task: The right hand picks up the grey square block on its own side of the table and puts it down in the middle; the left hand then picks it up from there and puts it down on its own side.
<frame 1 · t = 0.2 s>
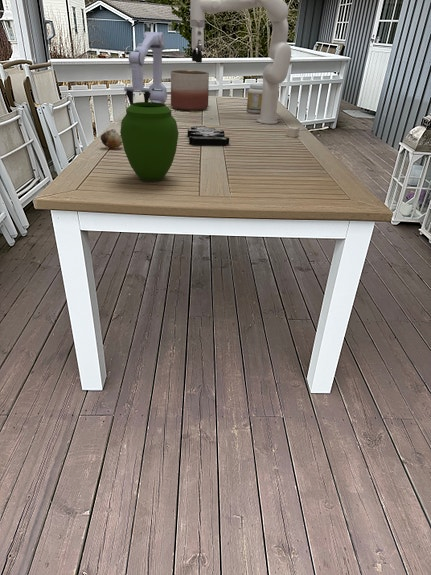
left hand: (139, 107, 218), 10 cm above the table, tool pointing down, fingers open, 7 cm apart
right hand: (196, 61, 223), 31 cm above the table, tool pointing down, fingers open, 9 cm apart
planter: (189, 108, 279), on the table
seashell: (112, 148, 180), on the table
grey square block: (292, 135, 219), on the table
vase: (151, 178, 146), on the table
sign: (206, 138, 204), on the table
supplement tub: (255, 112, 279), on the table
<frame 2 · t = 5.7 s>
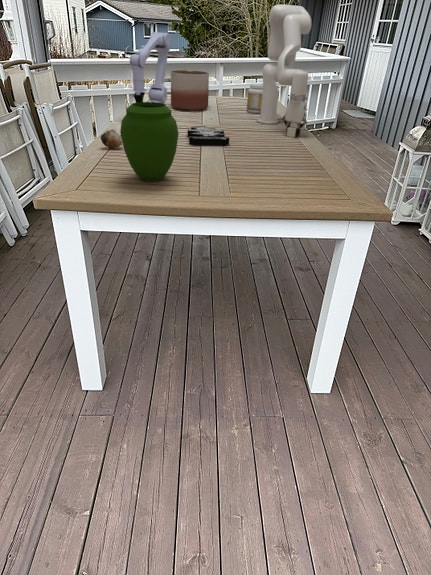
left hand: (139, 107, 226), 8 cm above the table, tool pointing down, fingers open, 7 cm apart
right hand: (292, 134, 219), 0 cm above the table, tool pointing down, fingers closed on grey square block, 4 cm apart
grey square block: (292, 135, 219), on the table, touching right hand
everything else where it was.
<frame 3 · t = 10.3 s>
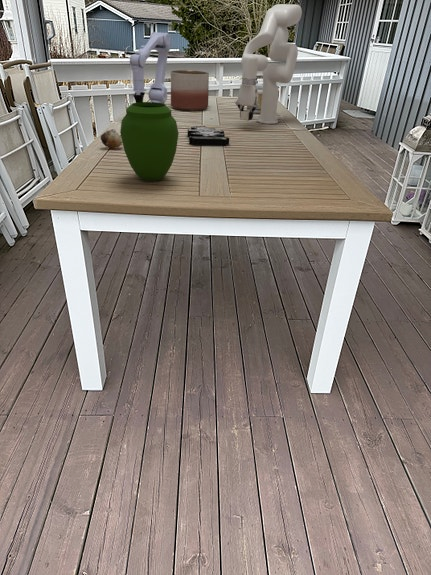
left hand: (139, 107, 226), 8 cm above the table, tool pointing down, fingers open, 7 cm apart
right hand: (246, 118, 225), 6 cm above the table, tool pointing down, fingers closed on grey square block, 4 cm apart
grey square block: (246, 119, 225), point 5 cm above the table, touching right hand
everything else where it was.
when the right hand's fingers open (1 cm above the table, at t = 15.2 s): grey square block stays where it is, on the table.
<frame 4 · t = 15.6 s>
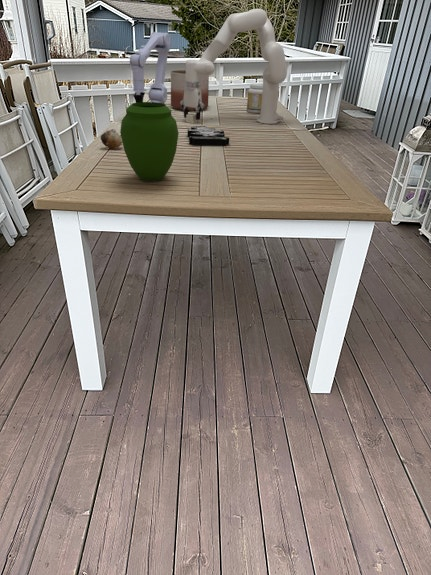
left hand: (139, 107, 226), 8 cm above the table, tool pointing down, fingers open, 7 cm apart
right hand: (192, 118, 237), 2 cm above the table, tool pointing down, fingers open, 8 cm apart
grey square block: (192, 122, 239), on the table
everything else where it was.
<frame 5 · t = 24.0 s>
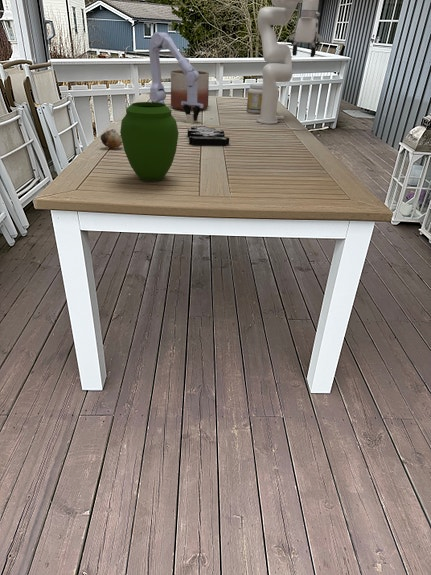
left hand: (191, 119, 238), 1 cm above the table, tool pointing down, fingers closed on grey square block, 4 cm apart
right hand: (303, 56, 205), 37 cm above the table, tool pointing down, fingers open, 9 cm apart
grey square block: (191, 122, 239), on the table, touching left hand
everything else where it was.
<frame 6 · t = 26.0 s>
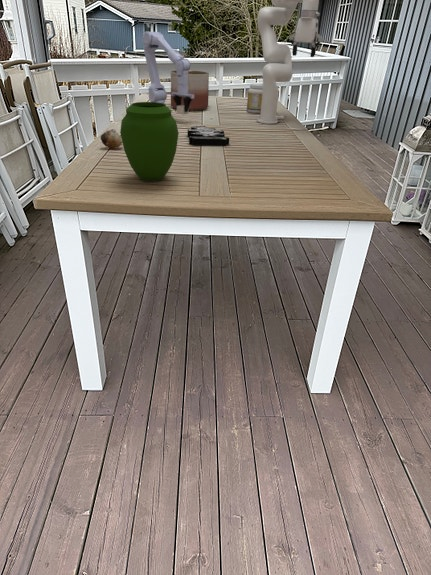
left hand: (182, 111, 231), 7 cm above the table, tool pointing down, fingers closed on grey square block, 4 cm apart
right hand: (303, 56, 205), 37 cm above the table, tool pointing down, fingers open, 9 cm apart
grey square block: (182, 113, 232), point 5 cm above the table, touching left hand
everything else where it was.
when the left hand's fingers open (2 cm above the table, at t = 28.4 s): grey square block drops 1 cm, on the table.
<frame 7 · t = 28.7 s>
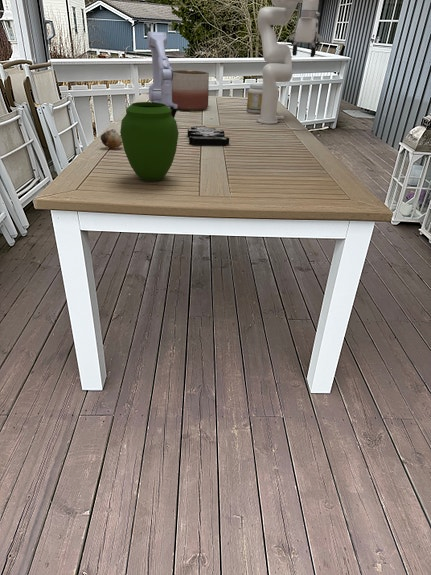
left hand: (167, 120, 226), 3 cm above the table, tool pointing down, fingers open, 7 cm apart
right hand: (303, 56, 205), 37 cm above the table, tool pointing down, fingers open, 9 cm apart
grey square block: (167, 125, 228), on the table
everything else where it was.
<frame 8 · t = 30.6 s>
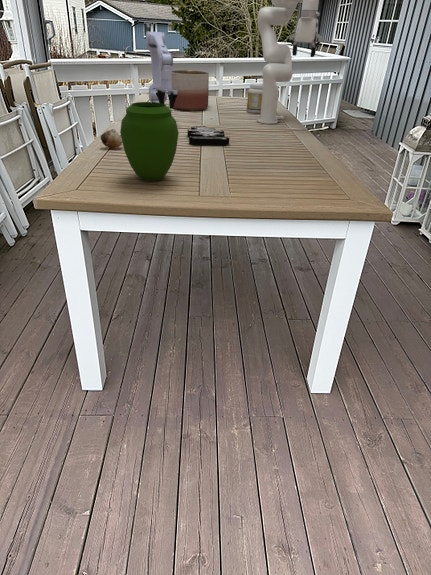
left hand: (166, 107, 223), 9 cm above the table, tool pointing down, fingers open, 7 cm apart
right hand: (303, 56, 205), 37 cm above the table, tool pointing down, fingers open, 9 cm apart
nothing on the table moved.
at the end: grey square block inside the target area (0.0 cm from its centre), on the table; grey square block tilted 0°; the two hands never held the grey square block at the same time; the left hand is holding nothing; the right hand is holding nothing; grey square block at rest at the end (0.0 cm/s) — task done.
